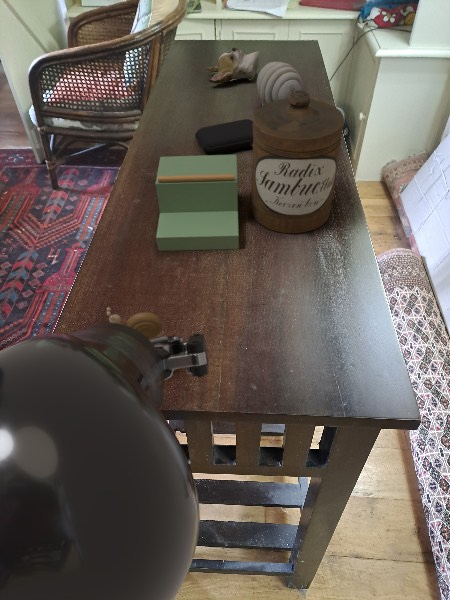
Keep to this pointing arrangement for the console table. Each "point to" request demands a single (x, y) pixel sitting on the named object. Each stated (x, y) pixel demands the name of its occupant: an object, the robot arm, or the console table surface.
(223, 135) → the carrying case
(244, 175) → the console table surface
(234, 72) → the ceramic sculpture
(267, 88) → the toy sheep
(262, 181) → the wooden container
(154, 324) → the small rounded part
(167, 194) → the green step block
